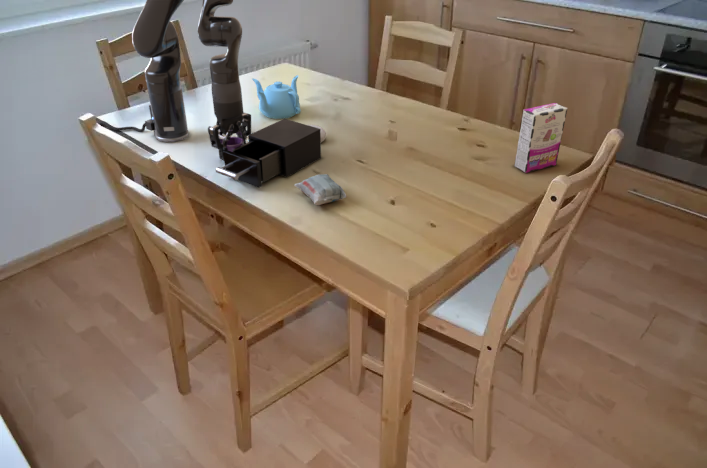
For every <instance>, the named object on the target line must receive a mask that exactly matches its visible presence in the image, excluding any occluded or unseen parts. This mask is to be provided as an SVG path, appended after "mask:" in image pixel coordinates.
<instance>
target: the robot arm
mask: <svg viewBox="0 0 707 468" xmlns="http://www.w3.org/2000/svg"><path fill="white" fill-rule="evenodd" d="M183 2H185V0H146V1H145V3H144V5H143V7H142V10H141V12H140V14H139V16H138V17H137V20H136V23H135V25H134V26H133V30H132V33H131V43H132V46H133V48H134V50H135V51H136V53H137V54H138V55H139V56H141V57H143V58H146V59H150V61H149V62H148V65H147V67H146V68H145V69H144V77H145V82H146V88H147V92H148V98H149V104H148V109H149V114H150V119H147V120H144V122H143V124H142V127H141V128H138V127H136V126H122V127H118V126H117V127H116V126H112V125H111V124H110V123H108V122H106V121H104V120H102V121H100V122H99V123H98V124H100V125H101V126H102V125H104V126H106V127H107V128H109V129H111V130H113V131H119V132H120V131H129V130H131V131H132V130H133V131H136V132H138V133H143V132H144V131H145V130H148V131H151V132H153V136H154V137H155V139H156V140H157V141H158V142H159V141H160V142H163V143H175V142H180V141H183V140H185V139H187V138H188V137H189V136H190V132H189V128H188V120H187V114H186V113H187V112H186V107H185V100H184V94H183V87H182V80H181V74H180V71H181V68H182V58H181V57H182V56H181V48H180V40H179V34H178V32H177V29H176V27H175V25H174V24H173V22H172V21H171V19H172V17H173V16H174V14H175V13H176V11H177V10H178V9H179V7H180V6H181V5H182V4H183ZM233 3H234V0H202V5H201V11H200V16H199V20H198V25H197V37H198V39H199V40H200V43H201V44H202V45H203V46H205V47H212V48H213V47H214V48H227V51H226V52H225V53H222V54H221V53H220V54H216V55H214V56H211V58H210V59H209V72H210V78H211V97H212V104H213V113H214V116H215V118H216V123H215V125H213V126H210V125H209V126H208V127H207V132H208V136H209V137H208V138H209V141H210V146H211V147H212V148H214V149H217V150H218V157H219V159H220V160H221V161H223V162H224V154H223V151H225V150H227V148H226V147H227V143H228V141H229V140H230V137H232V136H233V135H234V134H235V135H236V137H240V138H242V139H243V140H244V144H245V143H247V139H248V135H250V134H252V114H250V113H247V112H244V104H243V94H242V93H243V92H242V86H241V85H242V84H241V81H240V69H239V55H240V54H239V53H240V47H241V43H242V39H243V26H242V24H241V22H240V20H239V19H238V18H236V17H234V16H219V15H218V16H217V15H216V16H215V13H216V11H217V10H218V8H224V7H228V6H230V5H232V4H233ZM222 140H223V144H222Z"/></svg>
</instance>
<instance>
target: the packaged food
mask: <svg viewBox="0 0 707 468" xmlns="http://www.w3.org/2000/svg"><path fill="white" fill-rule="evenodd" d="M293 186H294V187H296V188H297V189H299V190H300V191H301V192H302V193H304V195H306V196H307V197H308V198H310V200H311V201H312V202H313V205H314V206H320V205H323V204H329V203H332V202H338V201H340V200H343V199H346V198H347V197H348V196H347V194H346V192H345V190H344V189H343V187H342V186H341V185H339V183H337V182H336V181H335V180H334V179H332V178H331V177H330V175H329V174H327V173H322V174H321V173H319V174H316V175H312V176H310V177H307V178H306V179H303V180H302V181H300V182H297V183H294V184H293Z"/></svg>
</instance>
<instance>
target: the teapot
mask: <svg viewBox="0 0 707 468" xmlns="http://www.w3.org/2000/svg"><path fill="white" fill-rule="evenodd" d="M298 79H299V75H298V74H297V75H294V77H292V80H291V83H290V85H289V84H285V83H283V82H282V81H274V82H273V83H272V84H269V85H267V86H266V87H265V89H263V87H262V84H261V82H260V80H258V79H256V78H251V80H252V81H253V82H254V84H255V86H256V87H255V88H256V95H257V98H258V100H259V104H258V109H259V111H260V113H261V114H262V115H263V116H264V117H266V118H268V119H274V120H283V119H290V118H292V117H295V115H299V114H301V111H302V109H301V104H300V96H299V94H298V87H297V81H298Z"/></svg>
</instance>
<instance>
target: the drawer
mask: <svg viewBox="0 0 707 468" xmlns="http://www.w3.org/2000/svg"><path fill="white" fill-rule="evenodd" d="M223 154H224V161H223V162H224V165H223V166H221V167H220V166H217V167H216V168H215V172H216V173H217V174H220V175H223V176H225V177H228V178H230V179H233V180H237V181H238V182H242V183H244V184H247V185H250V186H252V187H255V188H257V189H260V188H261V187H263V183H265V182H267V181H269V180H271V179H272V178H274V177H277V176H279V175H278V174H280V173H281V172H283V171H284V162H283V149H281V148H278V147H275V146H272V145H269V144H266V143H263V142H260V141H257V140H252V141H250V142H249V141H248V142H246V143H245V144H243V145H241V146H239V147H237V148H235V149H233V152H231V151H228V150H225V151H223Z"/></svg>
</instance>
